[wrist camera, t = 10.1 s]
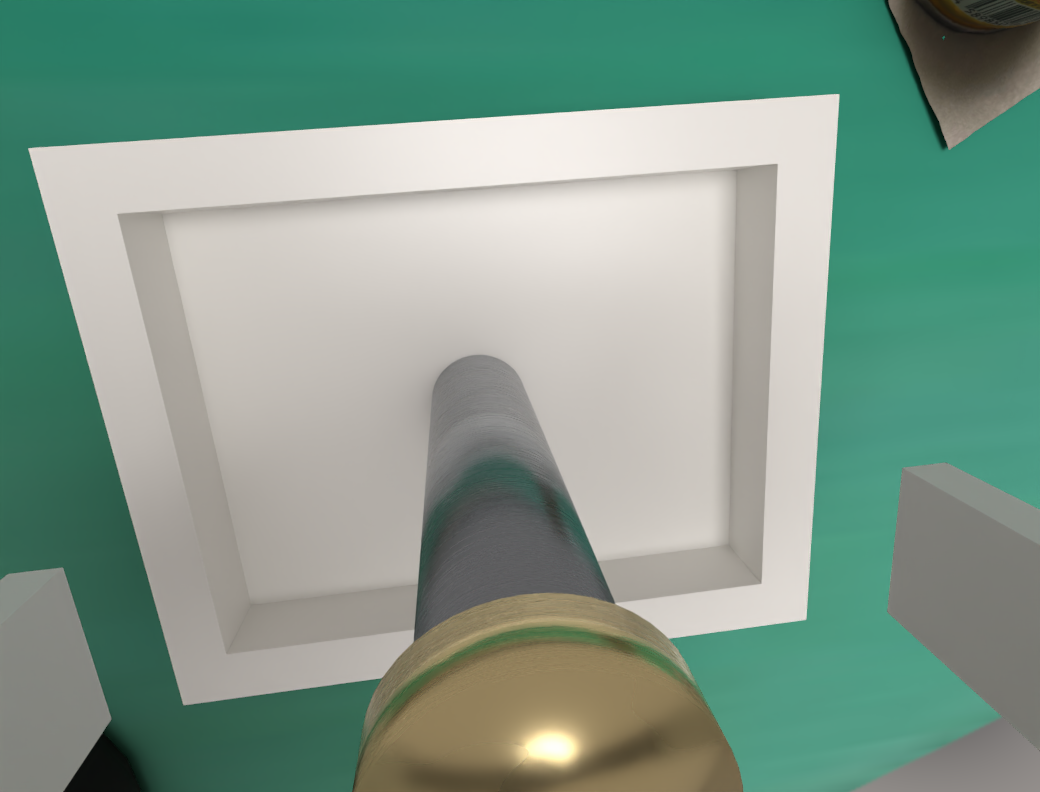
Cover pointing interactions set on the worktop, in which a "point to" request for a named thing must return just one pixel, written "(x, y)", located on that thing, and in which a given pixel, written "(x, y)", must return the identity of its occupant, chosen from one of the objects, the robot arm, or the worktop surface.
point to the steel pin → (525, 633)
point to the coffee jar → (104, 771)
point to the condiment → (972, 57)
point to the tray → (451, 359)
